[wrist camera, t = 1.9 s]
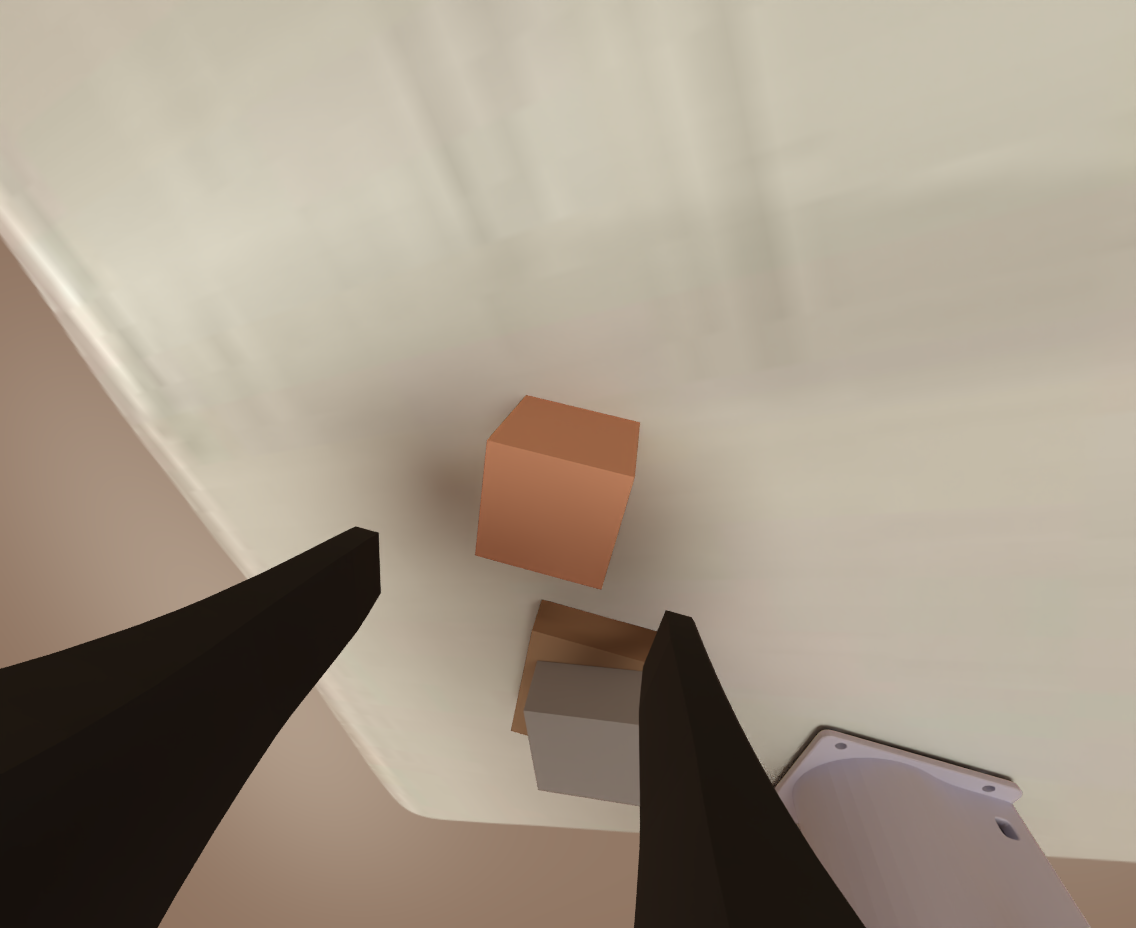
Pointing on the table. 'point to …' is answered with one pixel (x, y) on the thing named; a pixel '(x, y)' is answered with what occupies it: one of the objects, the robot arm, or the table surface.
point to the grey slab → (585, 731)
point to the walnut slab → (580, 646)
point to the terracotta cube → (556, 489)
